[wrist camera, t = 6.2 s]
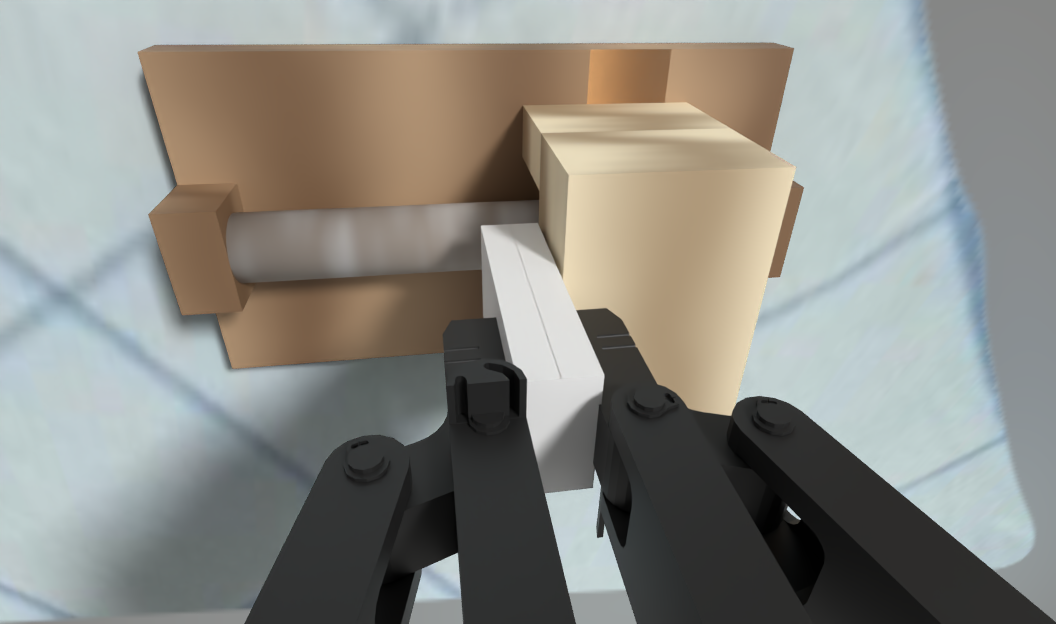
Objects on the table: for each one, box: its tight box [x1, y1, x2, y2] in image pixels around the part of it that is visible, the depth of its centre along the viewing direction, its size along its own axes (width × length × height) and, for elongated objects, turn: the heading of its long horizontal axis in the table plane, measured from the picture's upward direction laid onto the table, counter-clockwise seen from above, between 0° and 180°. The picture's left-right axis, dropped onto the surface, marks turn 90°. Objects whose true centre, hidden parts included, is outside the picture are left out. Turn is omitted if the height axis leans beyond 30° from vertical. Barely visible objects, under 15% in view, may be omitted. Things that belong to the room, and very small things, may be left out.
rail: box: [138, 43, 804, 369], centre depth 19 cm, size 18×10×4 cm, turn 88°
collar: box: [522, 102, 796, 416], centre depth 17 cm, size 5×7×6 cm
